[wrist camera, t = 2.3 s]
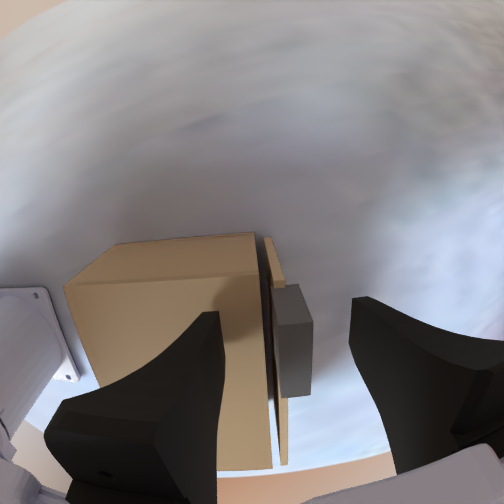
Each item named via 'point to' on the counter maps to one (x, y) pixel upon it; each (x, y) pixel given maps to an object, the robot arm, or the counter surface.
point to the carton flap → (287, 343)
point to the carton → (182, 324)
